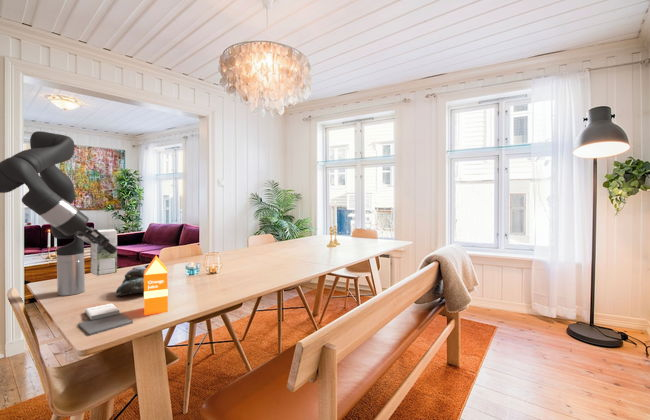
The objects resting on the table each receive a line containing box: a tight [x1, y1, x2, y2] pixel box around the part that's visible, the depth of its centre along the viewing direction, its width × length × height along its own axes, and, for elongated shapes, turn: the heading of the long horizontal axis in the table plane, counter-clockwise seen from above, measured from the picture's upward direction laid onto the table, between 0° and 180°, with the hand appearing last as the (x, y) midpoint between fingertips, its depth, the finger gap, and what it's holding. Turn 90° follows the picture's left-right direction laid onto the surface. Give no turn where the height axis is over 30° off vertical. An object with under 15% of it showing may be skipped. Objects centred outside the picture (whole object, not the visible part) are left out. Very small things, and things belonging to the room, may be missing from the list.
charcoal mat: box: [77, 312, 134, 336], centre depth 101 cm, size 12×12×1 cm
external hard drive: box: [84, 303, 121, 320], centre depth 109 cm, size 2×8×12 cm
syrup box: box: [90, 228, 118, 277], centre depth 100 cm, size 6×6×14 cm
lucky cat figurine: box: [114, 264, 149, 298], centre depth 134 cm, size 15×12×14 cm
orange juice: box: [143, 255, 169, 316], centre depth 114 cm, size 8×9×20 cm
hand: (109, 250), depth 102 cm, fingers closed on syrup box, 6 cm apart
